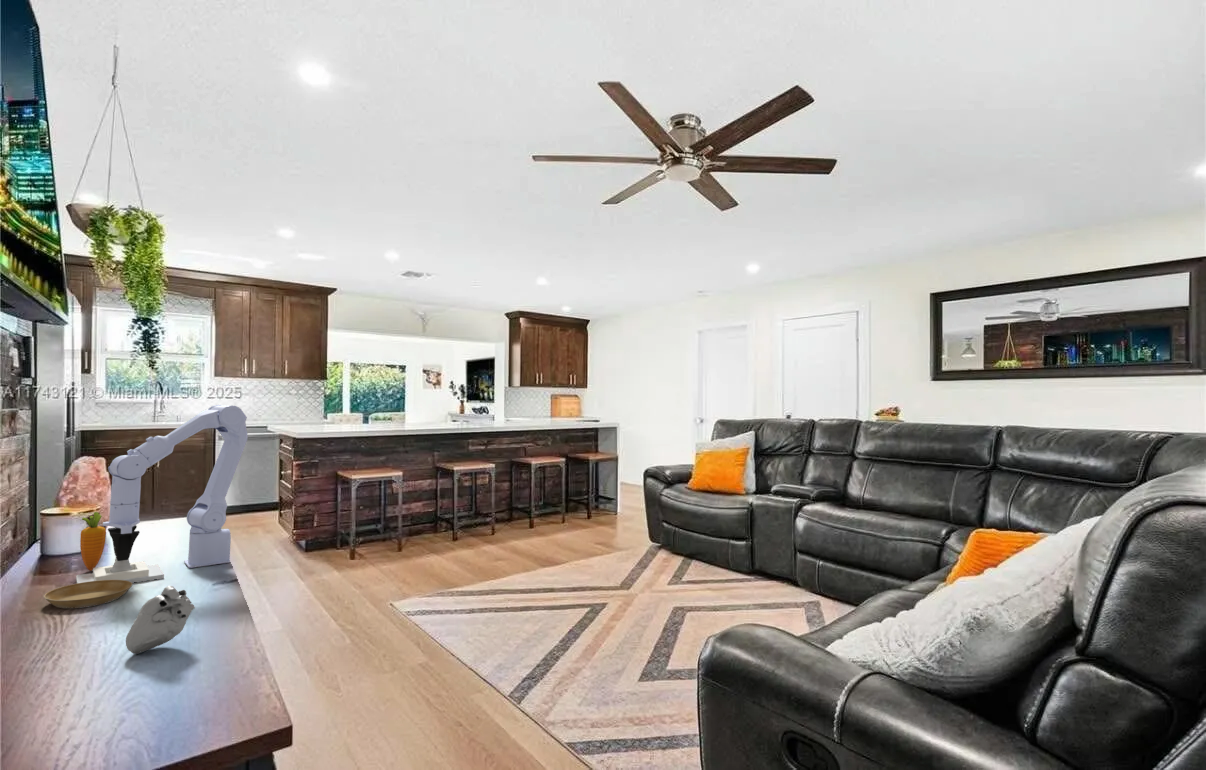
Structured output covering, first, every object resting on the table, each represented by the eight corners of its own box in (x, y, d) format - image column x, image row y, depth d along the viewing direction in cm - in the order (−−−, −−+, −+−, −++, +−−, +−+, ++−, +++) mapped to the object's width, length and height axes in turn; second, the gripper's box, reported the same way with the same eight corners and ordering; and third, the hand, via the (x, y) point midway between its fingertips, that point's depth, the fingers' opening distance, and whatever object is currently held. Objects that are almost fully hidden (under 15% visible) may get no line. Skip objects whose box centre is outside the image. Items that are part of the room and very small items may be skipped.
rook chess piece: (137, 573, 144) (139, 541, 144) (118, 578, 140) (120, 545, 140) (123, 571, 145) (125, 539, 145) (104, 576, 141) (106, 543, 141)
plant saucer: (128, 586, 138) (129, 575, 138) (135, 602, 127) (135, 590, 127) (43, 599, 127) (43, 587, 127) (42, 618, 117) (43, 605, 117)
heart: (184, 630, 111) (174, 571, 110) (205, 642, 106) (195, 580, 104) (119, 657, 103) (108, 594, 101) (139, 672, 97) (127, 605, 96)
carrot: (91, 573, 146) (95, 514, 146) (72, 573, 146) (76, 514, 146) (108, 568, 151) (112, 511, 151) (90, 567, 151) (94, 510, 151)
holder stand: (157, 567, 152) (158, 558, 152) (163, 578, 144) (164, 568, 144) (76, 579, 141) (76, 569, 141) (77, 591, 132) (78, 580, 133)
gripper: (102, 500, 146) (98, 554, 145) (106, 509, 135) (102, 566, 135) (137, 498, 150) (134, 550, 150) (144, 506, 140) (140, 561, 140)
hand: (121, 557), depth 143 cm, fingers open, 5 cm apart
